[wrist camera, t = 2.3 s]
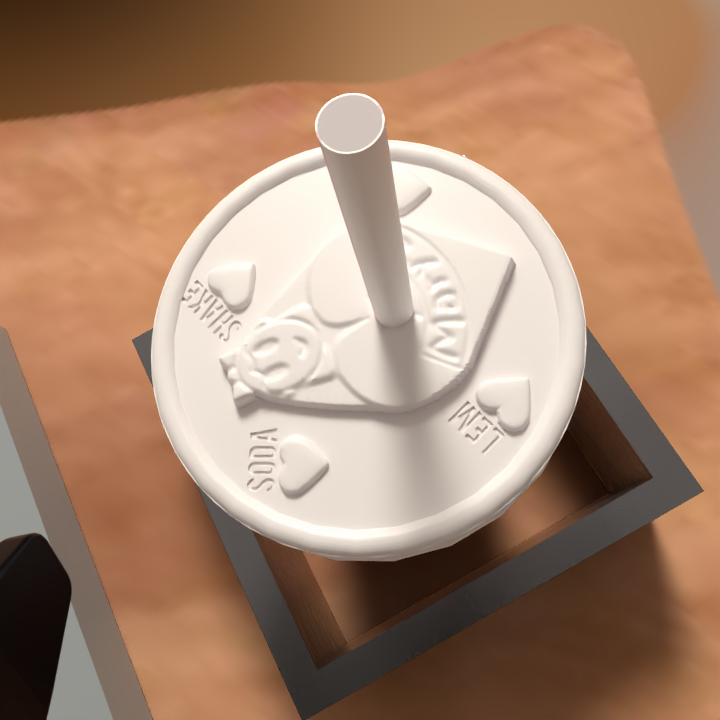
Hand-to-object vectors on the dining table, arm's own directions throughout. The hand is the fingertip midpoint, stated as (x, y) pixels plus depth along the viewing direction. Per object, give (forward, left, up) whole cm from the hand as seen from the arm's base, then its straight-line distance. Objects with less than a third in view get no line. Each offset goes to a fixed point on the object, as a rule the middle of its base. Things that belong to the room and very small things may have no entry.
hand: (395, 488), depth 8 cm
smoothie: (+2, -1, -10) cm, 11 cm away
